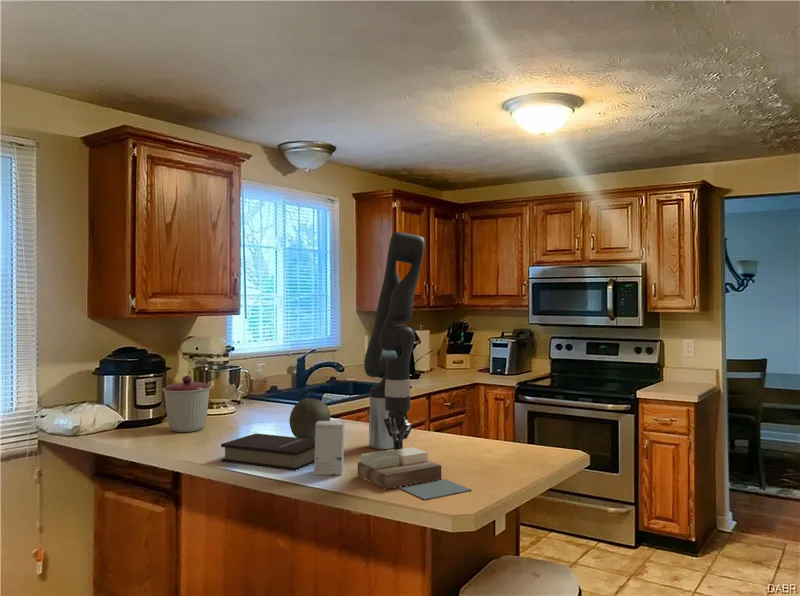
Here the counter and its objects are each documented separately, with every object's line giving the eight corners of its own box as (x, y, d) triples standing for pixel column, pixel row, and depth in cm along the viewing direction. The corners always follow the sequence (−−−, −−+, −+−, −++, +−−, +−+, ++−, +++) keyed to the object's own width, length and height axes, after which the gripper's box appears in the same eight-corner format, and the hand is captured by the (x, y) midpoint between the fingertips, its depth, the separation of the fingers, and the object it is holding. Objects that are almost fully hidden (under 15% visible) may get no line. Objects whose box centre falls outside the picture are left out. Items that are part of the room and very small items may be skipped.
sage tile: (360, 462, 190) (360, 454, 190) (384, 458, 194) (384, 450, 194) (374, 468, 183) (374, 459, 183) (399, 464, 187) (399, 455, 187)
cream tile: (389, 459, 194) (389, 450, 194) (412, 455, 198) (412, 447, 198) (403, 465, 187) (403, 456, 187) (427, 461, 191) (427, 452, 191)
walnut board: (357, 476, 190) (357, 462, 190) (410, 467, 200) (410, 453, 200) (386, 489, 177) (386, 474, 177) (441, 479, 186) (441, 465, 186)
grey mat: (399, 488, 178) (399, 487, 178) (445, 480, 186) (444, 479, 186) (424, 500, 168) (424, 499, 168) (471, 490, 175) (471, 489, 175)
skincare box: (314, 475, 192) (313, 424, 191) (316, 470, 198) (316, 420, 197) (343, 475, 191) (342, 423, 191) (345, 469, 197) (344, 419, 197)
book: (330, 457, 214) (329, 439, 214) (295, 472, 197) (295, 452, 197) (259, 449, 226) (259, 432, 226) (221, 462, 209) (221, 443, 209)
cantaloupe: (303, 446, 228) (302, 403, 228) (282, 440, 239) (282, 398, 239) (337, 440, 237) (337, 398, 237) (316, 434, 248) (315, 394, 248)
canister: (198, 435, 248) (198, 379, 248) (153, 434, 251) (153, 378, 251) (219, 425, 266) (218, 373, 266) (177, 424, 269) (176, 372, 269)
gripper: (375, 392, 201) (376, 449, 201) (398, 398, 189) (399, 458, 189) (396, 390, 205) (397, 446, 205) (420, 395, 193) (421, 455, 193)
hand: (398, 452), depth 197 cm, fingers closed
